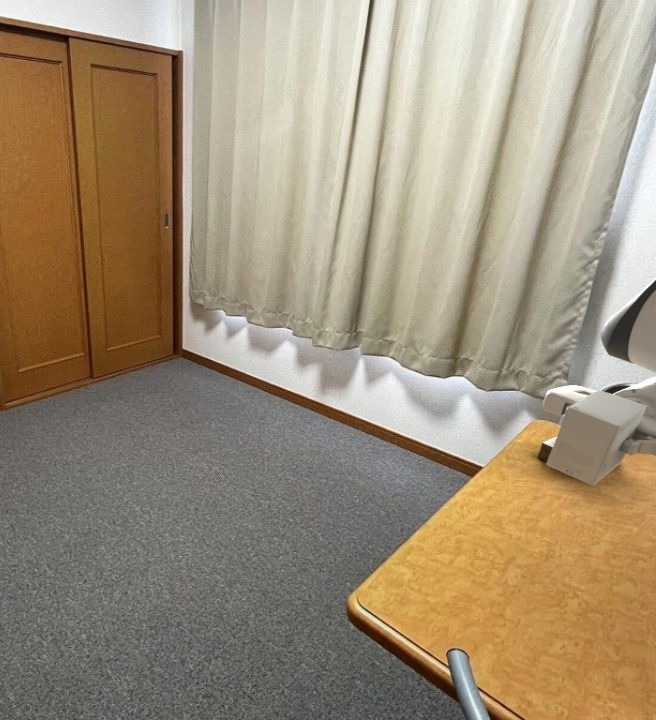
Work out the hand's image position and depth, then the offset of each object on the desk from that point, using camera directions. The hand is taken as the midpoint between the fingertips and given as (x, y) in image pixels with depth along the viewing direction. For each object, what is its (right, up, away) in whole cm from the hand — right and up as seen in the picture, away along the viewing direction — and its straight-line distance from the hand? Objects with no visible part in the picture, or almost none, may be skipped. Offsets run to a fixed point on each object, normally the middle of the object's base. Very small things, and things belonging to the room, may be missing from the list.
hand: (594, 435), depth 71 cm
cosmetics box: (+1, -5, +3) cm, 6 cm away
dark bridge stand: (+15, -9, +21) cm, 27 cm away
